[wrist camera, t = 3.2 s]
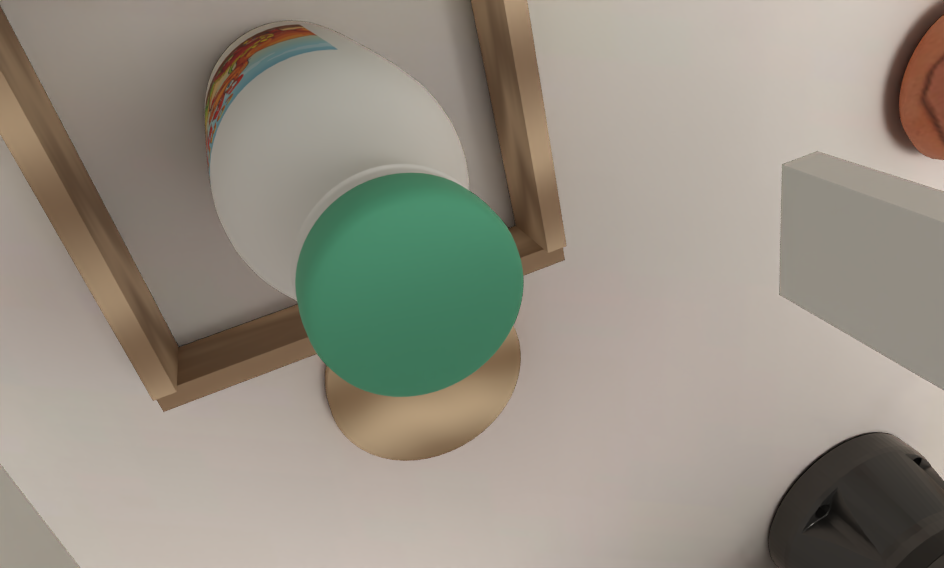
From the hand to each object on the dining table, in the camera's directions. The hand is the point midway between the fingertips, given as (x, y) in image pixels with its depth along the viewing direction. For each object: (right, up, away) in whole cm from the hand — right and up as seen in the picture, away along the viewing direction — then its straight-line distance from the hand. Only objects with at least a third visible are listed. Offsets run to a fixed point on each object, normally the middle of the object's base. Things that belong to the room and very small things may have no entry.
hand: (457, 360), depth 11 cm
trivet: (-2, -4, +27) cm, 27 cm away
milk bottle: (-8, +9, +19) cm, 23 cm away
